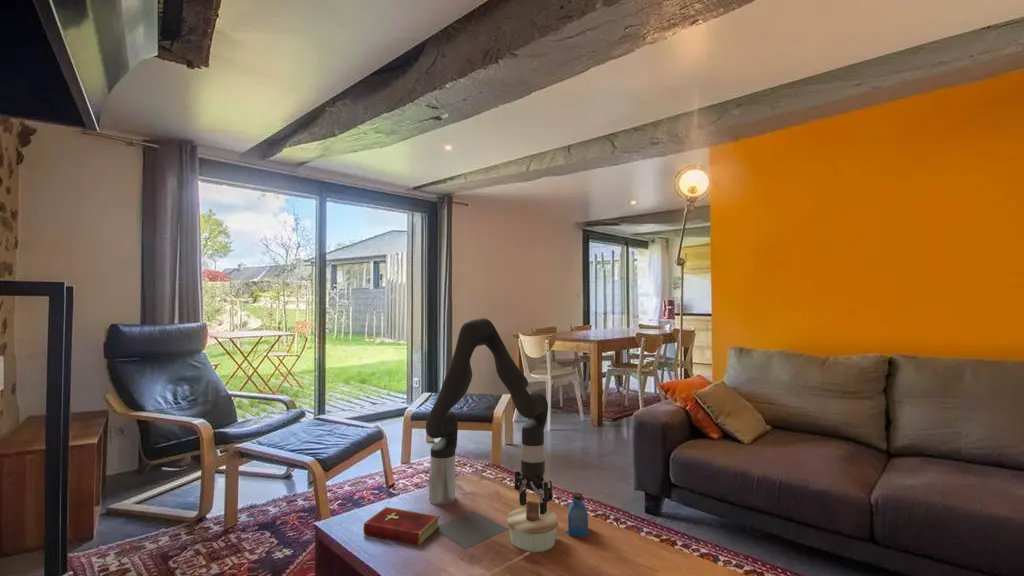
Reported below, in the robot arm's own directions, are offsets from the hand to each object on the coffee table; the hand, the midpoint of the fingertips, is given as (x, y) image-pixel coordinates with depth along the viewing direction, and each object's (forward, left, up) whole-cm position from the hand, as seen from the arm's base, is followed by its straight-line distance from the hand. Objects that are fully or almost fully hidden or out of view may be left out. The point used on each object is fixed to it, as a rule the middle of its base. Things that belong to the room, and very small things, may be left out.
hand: (532, 509), depth 150 cm
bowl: (0, 0, -10) cm, 10 cm away
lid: (0, 0, -4) cm, 4 cm away
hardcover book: (-33, -27, -10) cm, 44 cm away
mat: (-19, -10, -10) cm, 24 cm away
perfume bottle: (+6, +15, -10) cm, 19 cm away
